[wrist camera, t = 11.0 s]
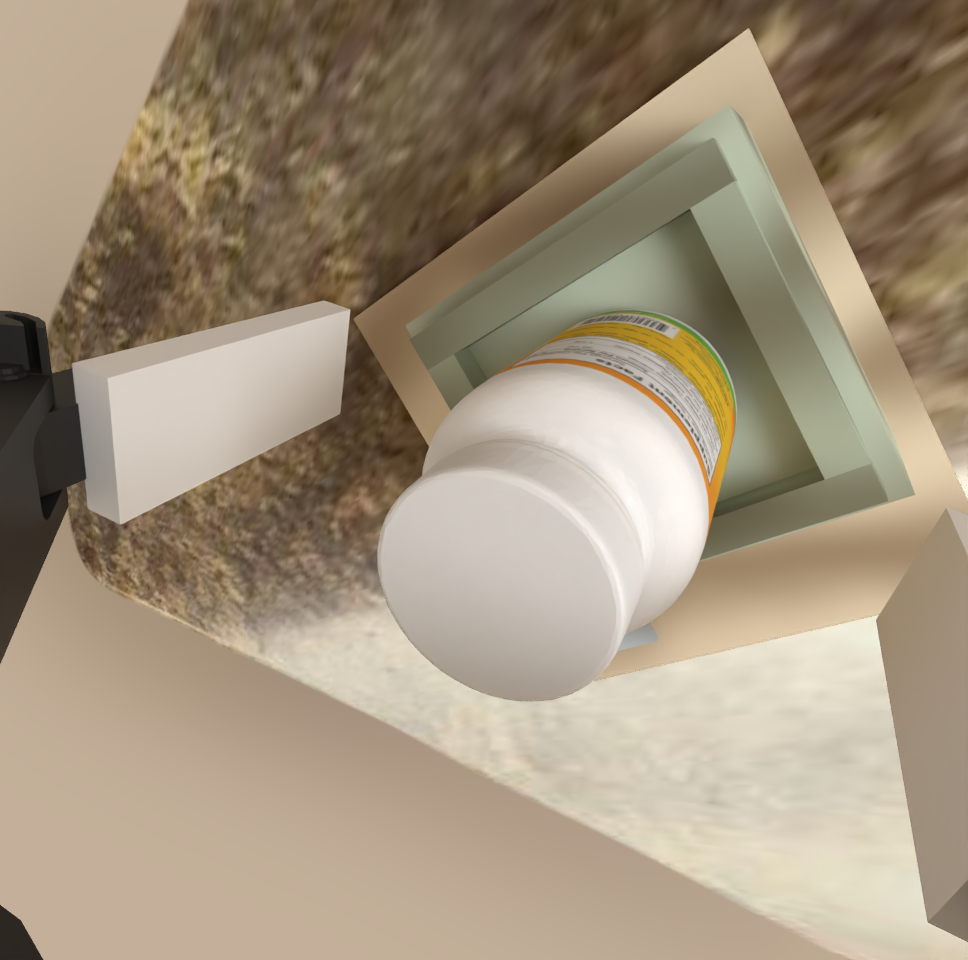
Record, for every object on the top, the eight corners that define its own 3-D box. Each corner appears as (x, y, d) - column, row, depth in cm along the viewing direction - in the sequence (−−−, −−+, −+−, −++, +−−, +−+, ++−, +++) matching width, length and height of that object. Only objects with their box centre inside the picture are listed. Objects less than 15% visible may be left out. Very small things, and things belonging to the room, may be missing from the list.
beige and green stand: (997, 566, 21) (1073, 716, 15) (579, 669, 30) (523, 792, 24) (752, 35, 19) (728, -33, 13) (369, 313, 27) (247, 351, 21)
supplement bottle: (613, 529, 20) (477, 778, 11) (501, 383, 19) (280, 533, 11) (783, 434, 17) (763, 677, 8) (655, 259, 16) (506, 338, 8)
